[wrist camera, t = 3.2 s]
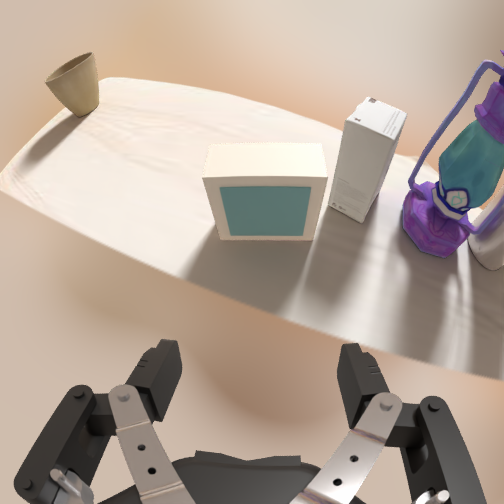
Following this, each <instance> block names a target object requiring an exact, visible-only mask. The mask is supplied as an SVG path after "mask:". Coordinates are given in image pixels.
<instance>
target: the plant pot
mask: <svg viewBox="0 0 504 504" xmlns="http://www.w3.org/2000/svg"><path fill="white" fill-rule="evenodd" d="M45 83H46V85H47V86H48V87H49V89H50V90H51V91H52V93H53V94H54V95H55V96H56V97H57V98H58V100H59V101H61V102H62V104H63V105H65V107H67V108H68V109H69V110H70V111H71V112H73V113H74V114H75V115H76V116H78V117H81V116H84V115H86V114H88V113H90V112H91V111H93V110H94V109H95V108H96V107H97V106H98V104H99V87H98V76H97V69H96V64H95V58H94V53H93V52H88V53H85V54H83V55H80V56H78V57H76V58H74V59H72V60H70V61H69V62H67V63H65V64H64V65H62V66H61V67H59V68H58V69H57V70H55V71H54V72H53V73H51V74H50V75H49V76H48V77H47V78H46V80H45Z"/></svg>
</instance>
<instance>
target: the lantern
mask: <svg viewBox="0 0 504 504" xmlns="http://www.w3.org/2000/svg"><path fill="white" fill-rule="evenodd" d="M500 51H501V52H502V54H503V56H504V51H503V50H500ZM488 68H491V69H492V70H493V71H495V72H496V73H498V74H499V75H501V77H500V80H499V82H493V84H492V85H491V87H490V89H489V91H488V93H487V96H486V98H485V100H484V101H483V103H482V104H479V105H476V106H475V109H474V112H475V116H476V118H477V120H475V121H474V122H472V123H471V124H469V125H468V126H467V127H466V128H465V129H464V130H463V131H462V132H461V133H460V134H459V135H458V136H457V137H456V139H455V140H454V141H453V142H452V143H451V144H450V146H448V148H447V149H446V150H445V151H444V152H443V153H442V154H441V156H440V157H439V181H437V182H436V183H435V184H434V183H431V182H428V181H427V182H424V183H423V184H421V185H418V184H416V183H415V180H414V179H415V177H416V175H417V173H418V171H419V169H420V167H421V166H422V164H423V162H424V160H425V158H426V156H427V155H428V153H429V152H430V150H431V149H432V148H433V146H434V145H435V143H436V141H437V140H438V139H439V138H440V136H441V135H442V133H443V132H444V131H445V129H446V128H447V126H448V125H449V124H450V122H451V121H452V120H453V119H454V117H455V116H456V115H457V114H458V112H459V111H460V109H461V108H462V107H463V105H464V104H465V103H466V101H467V100H468V98H469V97H470V95H471V94H472V92H473V90H474V88H475V87H476V85H477V83H478V81H479V79H480V78H481V76H482V75H483V73H484V72H485V71H486V70H487V69H488ZM503 169H504V68H502V67H500V66H499V65H498V64H496V63H495V62H493V61H490V60H484V61H483V62H482V63H481V64H480V66H479V67H478V68H477V70H476V72H475V74H474V75H473V77H472V79H471V81H470V83H469V84H468V86H467V88H466V90H465V91H464V93H463V95H462V96H461V97H460V99H459V100H458V102H457V103H456V105H455V106H454V108H453V109H452V110H451V111H450V113H449V114H448V115H447V117H446V118H445V119H444V121H443V122H442V124H441V125H440V127H439V128H438V130H437V131H436V132H435V134H434V135H433V137H432V138H431V140H430V141H429V143H428V144H427V146H426V147H425V149H424V150H423V152H422V154H421V156H420V158H419V160H418V162H417V164H416V166H415V168H414V170H413V172H412V174H411V176H410V178H409V180H408V183H409V186H410V189H411V190H410V191H409V192H408V194H407V195H406V197H405V200H404V203H403V229H404V230H405V231H406V232H407V234H408V235H409V236H410V238H411V239H412V240H413V241H414V243H415V244H416V245H417V247H418V248H419V249H420V251H422V252H426V253H429V254H432V255H435V256H439V257H442V258H446V257H447V256H449V255H450V254H452V253H453V252H454V251H455V250H456V249H457V248H458V247H459V246H460V245H461V244H462V243H463V242H464V241H465V240H466V239H467V238H468V237H469V236H470V233H471V234H473V235H475V234H481V232H482V231H483V230H484V229H485V228H486V227H487V225H488V224H489V223H490V222H491V221H492V219H493V218H494V217H495V216H496V214H497V213H498V212H499V210H500V209H501V207H502V205H503V204H504V194H503V195H502V197H501V198H500V200H499V202H498V203H497V205H496V206H495V207H494V209H493V210H492V211H491V212H490V213H489V215H488V216H487V217H486V218H485V219H484V220H483V222H482V223H481V224H480V225H479V226H476V227H475V226H473V225H472V224H471V223H470V222H469V221H468V215H467V212H468V211H469V210H470V209H471V208H476V207H479V206H481V205H482V204H483V203H484V202H486V201H487V200H488V199H489V198H490V197H491V196H492V194H493V193H494V190H495V188H496V186H497V183H498V181H499V179H500V176H501V174H502V171H503Z"/></svg>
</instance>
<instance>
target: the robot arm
mask: <svg viewBox="0 0 504 504" xmlns="http://www.w3.org/2000/svg"><path fill="white" fill-rule="evenodd" d="M503 194H504V185H503V186H502V188H501V189H500V190H499V191H498V193H497V194H496V195H495V196H494V198H493V199H492V200H491V202H490V203H489V204H488V205H487V206H486V208H485V209H484V210H483V211H482V212H481V213H480V215H479V216H478V217H477V218H476V219H475V220H474V221H473V223H472V225H473V226H475V227H476V226H479V225H480V224H481V223H482V222H483V220H484V219H485V218H486V217H487V216H488V215H489V213H490V212H491V211H492V210H493V209H494V207H495V206H496V205H497V203H498V202H499V200H500V198H501V197H502V195H503ZM468 241H469V245H470V248H471V250H472V252H473V254H474V256H475V257H476V259H477V260H478V261H479V262H480V263H481V264H482V265H483V266H484V267H485V268H487V269H489V270H497V269H499V268H500V267H502V266H503V265H504V204H503V205H502V207H501V209H500V210H499V212H498V213H497V214H496V216H495V217H494V218H493V219H492V221H491V222H490V223H489V224H488V225H487V227H486V228H485V229H484V230H483V231H482V232H481V234H475V235H473V234H471V233H470V236H469V237H468ZM181 374H182V362H181V357H180V352H179V347H178V343H177V341H175V340H166V339H161V340H160V342H159V344H158V345H157V347H156V348H150V349H149V350H148V351H146V352H145V353H144V354H143V356H142V358H141V359H140V361H139V362H138V364H137V366H136V367H135V369H134V370H133V372H132V374H131V375H130V377H129V378H128V380H127V382H126V383H125V384H124V385H119V386H116V387H114V388H113V389H112V390H111V391H110V392H109V393H108V394H94V393H93V391H92V389H91V388H90V387H88V386H86V385H77V386H75V387H72V388H71V389H70V390H69V391H68V392H67V394H66V395H65V397H64V398H63V400H62V401H61V403H60V404H59V406H58V407H57V409H56V410H55V412H54V413H53V415H52V416H51V418H50V419H49V421H48V422H47V424H46V426H45V427H44V429H43V430H42V432H41V434H40V436H39V437H38V438H37V440H36V442H35V443H34V445H33V447H32V448H31V450H30V452H29V454H28V455H27V457H26V459H25V460H24V462H23V464H22V465H21V467H20V469H19V471H18V473H17V475H16V477H15V479H14V488H15V490H16V492H17V493H18V494H19V495H20V496H21V497H22V498H23V499H25V500H26V501H27V502H28V503H30V504H94V502H93V499H94V495H93V492H92V490H91V488H90V485H91V482H92V480H93V477H94V475H95V472H96V470H97V467H98V465H99V463H100V460H101V458H102V456H103V453H104V451H105V448H106V446H107V444H108V442H109V439H110V437H111V436H112V435H113V436H117V437H118V440H119V443H120V446H121V449H122V451H123V454H124V457H125V460H126V462H127V465H128V467H129V470H130V472H131V475H132V477H133V480H134V482H135V485H133V486H131V487H129V488H128V489H126V490H124V491H122V492H120V493H118V494H116V495H114V496H112V497H110V498H108V499H106V500H104V501H102V502H100V503H98V504H366V503H364V502H363V501H361V500H360V499H359V498H358V497H356V496H355V493H356V492H357V490H358V489H359V487H360V486H361V484H362V483H363V481H364V480H365V478H366V477H367V475H368V473H369V472H370V470H371V468H372V467H373V465H374V463H375V462H376V460H377V458H378V456H379V454H380V453H381V451H382V449H383V447H384V446H387V447H400V451H401V455H402V459H403V463H404V467H405V471H406V475H407V480H408V485H409V489H410V494H411V499H412V503H411V504H487V503H486V500H485V496H484V493H483V490H482V487H481V484H480V481H479V478H478V476H477V473H476V470H475V467H474V465H473V462H472V460H471V457H470V455H469V452H468V450H467V447H466V445H465V442H464V440H463V438H462V436H461V434H460V431H459V429H458V427H457V424H456V422H455V420H454V418H453V416H452V414H451V412H450V410H449V407H448V405H447V404H446V402H445V401H444V400H443V399H441V398H440V397H437V396H428V397H426V398H424V399H423V400H422V401H421V403H420V404H408V403H402V401H401V399H400V398H399V397H397V396H396V395H395V394H392V393H390V391H389V389H388V387H387V384H386V382H385V380H384V377H383V375H382V373H381V371H380V369H379V367H378V364H377V362H376V360H375V358H374V357H373V356H372V355H370V354H369V353H368V352H366V353H362V351H361V348H360V346H359V344H358V343H351V344H343V345H342V348H341V353H340V358H339V364H338V368H337V379H338V383H339V387H340V391H341V395H342V399H343V403H344V407H345V411H346V415H347V420H348V424H349V428H350V429H351V430H350V432H349V433H348V434H347V436H346V437H345V439H344V440H343V442H342V443H341V444H340V446H339V447H338V448H337V450H336V451H335V452H334V454H333V455H332V457H331V458H330V459H329V460H328V462H327V463H326V464H325V465H324V467H323V468H322V469H320V468H319V467H317V466H314V465H311V464H308V463H303V462H301V458H300V456H273V457H267V458H262V459H256V460H249V461H246V460H242V459H238V458H235V457H231V456H227V455H224V454H221V453H212V452H204V451H197V450H196V453H195V456H194V457H188V458H183V459H179V460H176V461H174V462H172V463H171V462H170V460H169V458H168V456H167V454H166V453H165V450H164V449H163V447H162V445H161V443H160V441H159V439H158V437H157V434H156V432H155V430H154V428H153V426H152V424H153V422H154V421H159V422H162V421H163V419H164V416H165V414H166V411H167V409H168V406H169V404H170V401H171V398H172V396H173V394H174V391H175V389H176V387H177V384H178V382H179V379H180V377H181Z"/></svg>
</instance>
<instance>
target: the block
mask: <svg viewBox="0 0 504 504" xmlns="http://www.w3.org/2000/svg"><path fill="white" fill-rule="evenodd" d="M202 179H203V182H204V186H205V189H206V192H207V196H208V199H209V203H210V206H211V209H212V213H213V216H214V219H215V223H216V226H217V229H218V233H219V236H220V239H221V240H293V241H313V238H314V235H315V231H316V226H317V222H318V218H319V214H320V210H321V206H322V201H323V197H324V193H325V188H326V184H327V179H328V175H327V169H326V164H325V159H324V154H323V149H322V144H314V143H229V144H211V145H209V148H208V153H207V157H206V162H205V167H204V171H203V176H202Z"/></svg>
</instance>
